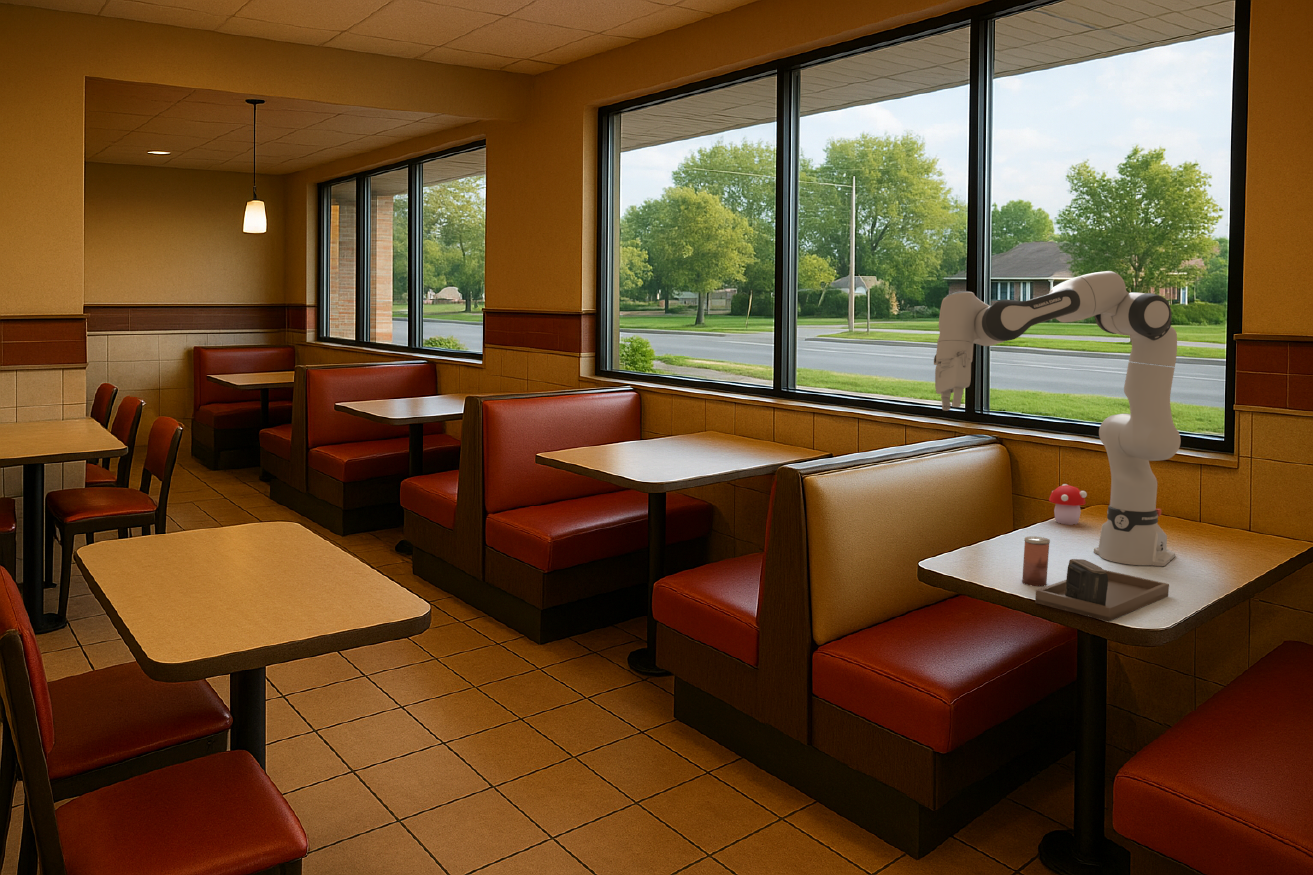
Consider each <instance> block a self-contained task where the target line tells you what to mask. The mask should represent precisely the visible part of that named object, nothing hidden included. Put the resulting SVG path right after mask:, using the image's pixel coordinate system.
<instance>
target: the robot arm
mask: <svg viewBox="0 0 1313 875" xmlns="http://www.w3.org/2000/svg"><path fill="white" fill-rule="evenodd" d="M1092 317H1094V321H1095V323H1096V325H1097V326H1098V328H1100V329H1101V330H1103V331H1104V332H1106V333H1108V334H1111V335H1121V336H1128V337H1129V338H1130V341H1131V350H1130V355H1129V359H1128V363H1127V370H1126V374H1125V381H1124V387H1123V391H1124V394H1125V396H1126V397H1127V400H1128V404H1129V410H1130V411H1129V412H1130V413H1118V414H1112V415H1109V416H1108V417H1106V418H1105V419H1104V420H1103V421H1102V422H1101V424H1100V426H1099V429H1098V436H1099V439H1100V441H1101V443H1102V445H1103V446H1104V448H1105V450H1106V453H1107V454H1106V455H1107V458H1108V463H1109V468H1110V469H1109V470H1110V476H1111V477H1110V478H1111V479H1110V480H1111V482H1110V483H1111V484H1110V497H1109V498H1110V500H1109V505H1108V506H1107V511H1106V516H1107V517H1106V519H1107V521H1105V522H1103V523H1102V525H1101V530H1100V536H1099V543H1098V547H1094V549H1093V552H1094V554H1096V555H1098V556H1099V557H1101V559H1104V560H1107V561H1110V562H1112V563H1113V562H1114V563H1118V564H1125V565H1134V566H1156V567H1157V566H1158V567H1165V566H1166V565H1168V563H1169V562H1171V561H1172V560H1173V559H1174V558H1175V557H1176V552H1175V551H1172V550H1170V549H1167V546H1168V534H1166V532H1164V530H1163V528H1161V527H1160V525H1159V524H1158V522H1159V520H1158V518H1159V517H1160V516H1161V515H1162V508H1156V507H1157V506H1156V505H1157V495H1158V479H1157V477H1156V475H1155V474H1154V472H1153V471H1152V470H1153V469H1152V468H1151V465H1150V462H1153V461H1154V462H1156V461H1166V460H1169V459H1172V458H1173V457H1174V456H1175V455H1176V454H1177V453H1178V451H1179V449H1180V446H1181V444H1182V443H1181V435H1180V432H1179V430H1178V429H1177V428H1176V426H1175V423H1174V421H1173V416H1172V409H1171V408H1172V407H1171V406H1172V405H1171V392H1172V387H1173V386H1172V384H1173V379H1174V374H1175V367H1176V361H1177V355H1178V333H1177V331H1176V329H1175V328H1174V327H1173V326H1172V308H1171V305H1170V302H1169V301H1168V300H1167V299H1166V298H1165V297H1163V296H1161V295H1160V294H1157V293H1153V292H1148V293H1147V292H1145V293H1143V292H1129V291H1127V288H1126V283H1125V280H1124V279H1123V277H1122V276H1121V275H1120V274H1119V273H1117V272H1115V271H1111V270H1106V271H1098V272H1091V273H1086V274H1082V275H1078V276H1076V277H1073V278H1072V277H1071V278H1070V279H1066V280H1064V281H1062V282H1060V283H1058V284H1056V285H1055V286H1053V287H1052V288H1051V289H1050V290H1049V292H1048V293H1047V294H1045V295H1041V296H1037V297H1034V298H1031V299H1028V300H1015V299H1002V300H998V301H996V302H994V303H993V304H991V305H989V304H988V303H985V302H984V301H982V300H981V299H979V298H978V297H977V296H976V295H975V293H974V292H972V291H968V290H964V291H963V290H962V291H955V292H952V293H949V294H947V295H945V296H944V297H943V299H942V301H941V304H940V310H939V318H938V329H939V335H938V339H937V344H936V351H935V352H936V354H935V356H934V357H933V365H935V372H934V378H935V379H934V381H935V382H934V388H935V393H936V394H937V395H940V399H941V409H942V411H950V410H951V406H952V408H959V407H961V405H962V404H961V403H962V397H963V395H964V389H966V388H969V387H970V385H971V378H972V362H973V359H974V358H973V356H974V345H979V346H982V347H983V346H984V347H991V346H994V345H998V344H1001V343H1004V342H1007V341H1013V340H1016V339H1018V338H1019V337H1021V336H1022V335H1023V334H1025V332H1026V331H1027V330H1029V328H1031V327H1033V326H1035V325H1037V324H1041V323H1043V322H1047V321H1050V320H1051V321H1052V320H1054V319H1056V321H1059V322H1060V323H1072V322H1077V321H1081V320H1086V319H1090V318H1092ZM952 394H953V398H952V399H951V397H952V396H951V395H952ZM1170 560H1171V561H1170Z"/></svg>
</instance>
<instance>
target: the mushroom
mask: <svg viewBox="0 0 1313 875" xmlns="http://www.w3.org/2000/svg"><path fill="white" fill-rule="evenodd" d="M1087 496H1088V493H1087V492H1086V491H1085V490H1080V488H1078V487H1077V486H1072V485H1070V484H1067V483H1063V484H1062V485H1060V486H1058V487H1056V488H1055V489H1054V490H1051V493H1050V496H1049V499H1048V502H1050V503H1053V504H1055V506H1054V510H1053V512H1054V521H1055V520H1056V523H1057V522H1058V523H1057V524H1060V523H1061V524H1062V525H1066V526H1067V525H1068V526H1069V525H1071V526H1073V524H1075V525H1078V524H1079V521H1080V516H1081V513H1082V511H1081V506H1084V505H1086V504H1087V502H1086V499H1085V498H1086V497H1087ZM1077 523H1078V524H1077ZM1061 524H1060V525H1061Z"/></svg>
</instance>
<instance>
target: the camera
mask: <svg viewBox="0 0 1313 875" xmlns="http://www.w3.org/2000/svg"><path fill="white" fill-rule="evenodd" d="M1105 570H1106V569H1104V568H1102V567H1101V566H1099V565H1097V564H1095V563H1093V562H1091V561H1089V560H1086V559H1077V558H1076V559H1075V558H1071V559H1069V561H1068V566H1067V571H1066V579H1065V580H1066V587H1065V596H1067V597H1071V598H1075V599H1079V600H1083V601H1087V602H1091V603H1095V604H1099V605H1103V606H1105V605H1106V596H1107V589H1108V588H1107V587H1108V581H1109V580H1108V576H1107V574H1106V571H1105Z"/></svg>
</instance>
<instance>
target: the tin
mask: <svg viewBox="0 0 1313 875" xmlns="http://www.w3.org/2000/svg"><path fill="white" fill-rule="evenodd" d="M1050 543H1051V540H1050V539H1049V538H1048V537H1047V538H1046V537H1042V536H1034V535H1033V536H1032V535H1031V536H1025V537H1024V548H1023V551H1024V552H1023V565H1022V579H1021V583H1022V584H1024V583H1025V584H1024V585H1026V584H1028V585H1027V586H1030V585H1032V586H1031V587H1045V586H1047V584H1048V583H1047V580H1048V579H1047V578H1048V565H1049V552H1050ZM1044 585H1045V586H1044Z"/></svg>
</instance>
